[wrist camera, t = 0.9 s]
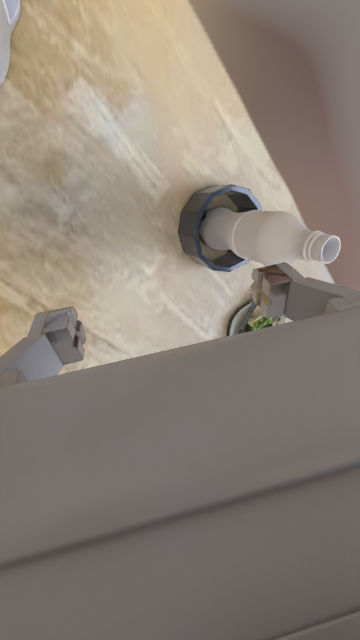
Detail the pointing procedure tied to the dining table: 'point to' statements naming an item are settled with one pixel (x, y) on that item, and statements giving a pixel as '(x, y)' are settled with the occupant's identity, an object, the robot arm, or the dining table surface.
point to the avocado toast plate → (252, 320)
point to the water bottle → (267, 237)
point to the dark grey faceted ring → (193, 218)
